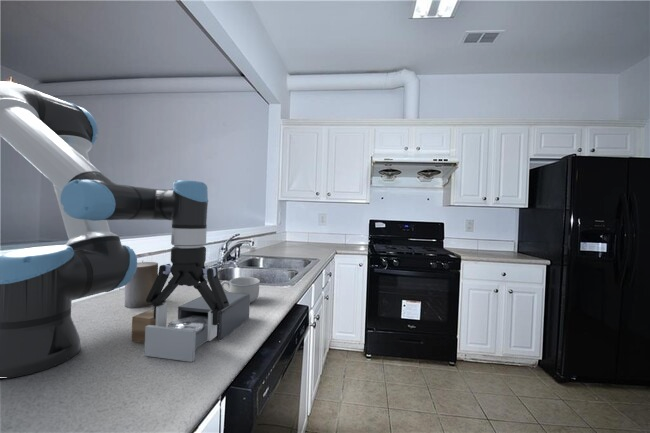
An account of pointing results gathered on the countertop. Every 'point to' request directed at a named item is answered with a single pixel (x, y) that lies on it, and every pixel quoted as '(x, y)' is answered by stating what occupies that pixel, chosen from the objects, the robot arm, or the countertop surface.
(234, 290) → the teacup
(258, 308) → the countertop surface
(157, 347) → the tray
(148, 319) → the walnut block
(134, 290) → the pillar candle
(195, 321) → the disc
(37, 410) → the countertop surface
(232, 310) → the drawer casing
